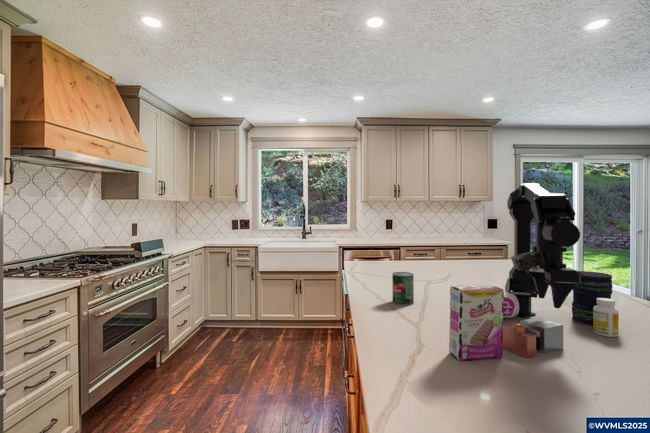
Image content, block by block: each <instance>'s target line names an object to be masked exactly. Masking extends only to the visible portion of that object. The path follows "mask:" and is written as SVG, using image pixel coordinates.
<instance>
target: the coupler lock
mask: <svg viewBox="0 0 650 433" xmlns="http://www.w3.org/2000/svg"><path fill="white" fill-rule="evenodd" d="M519 324H521V325H523V326H524V328H525V330H526V332H529V333H532V334H535V335H536V337H540V349H539V352H541V353H543V354H545V353H546V354H547V353H551V352H552V353H553V352H554V351H560V350H562V349H564V324H563V323H559V322H555V321H551V320H549V319H545V318H541V317H533V318H528V319H521V320H520V321H519Z"/></svg>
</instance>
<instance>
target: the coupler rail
mask: <svg viewBox="0 0 650 433" xmlns="http://www.w3.org/2000/svg"><path fill="white" fill-rule="evenodd" d="M502 349H505V350H508V351H510V352H512V353H515V354H516V355H519V356H521V357H523V358H526V359H529V358H533V357H536V356H537V350H540V337H536V335H535V334H532V333H529V332H526V330H525V328H524V326H523V325H521V324H520V322H519V323H518V322H517V323H513V324H512V325H507V326H503V339H502Z"/></svg>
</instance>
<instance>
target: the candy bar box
mask: <svg viewBox="0 0 650 433" xmlns="http://www.w3.org/2000/svg"><path fill="white" fill-rule="evenodd" d="M449 289H450V290H449V291H450V294H449V298H450V299H449V339H448V340H449V348H448V353H449V354H450V355H452V356H453V357H454V358H456V360H458V361H459V362H460V361H461V362H462V361H463V362H464V361H472V360H473V361H475V360H486V359H502V358H503V348H502V339H503V327H504V318H503V296H504V292H505V288H504V289H503V288H501V287H498V286H495V285H493V284H492V285H491V284H480V285H479V284H476V285H475V284H473V285H450V288H449Z"/></svg>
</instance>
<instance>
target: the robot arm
mask: <svg viewBox="0 0 650 433" xmlns="http://www.w3.org/2000/svg"><path fill="white" fill-rule="evenodd" d="M507 210H508V214H509V215H510V217H511V218H512V220H513V221H514V256H511V257H510V259H511V262H512V264H513V266H512V268H511V269H510V270H509V271H508V277H507V278H506V283H505V286H504V292H509V293H511V294H514V295H515V296H516V297H517V299H518V302H519V313H518V315H517V316H518V317H521V318H526V317H531V316H536V315H537V313H536V312H532V298H535V299H537V297H538V298H539V299H544V298H545V297H546V295H547V291H548V288H549V287H550V289H551V297H552V302H553V307H554V309H560V308H561V307H562V305H563V304H564V302H565V301H566V299H567V297H568V296H569V295H570V293H571V292H573V290H572V289H573V288H574V286H575V285H577V284H578V283H581V274H580V273H579V272H578V271H579V270H578V271H577V270H576V269H573V268H570V267H567V263H564V253H566V252H567V250H568V249H567V248H568V247H572V246H574V245H575V244H577V243H578V241H580V237H581V232H580V230H579V228H578V226H577V225H576V224H574V223H572V222H571V221H575V216H576V212H575V210H574V208H573V206H572V204H571V202H570V199H569V198H568V197H567V195H566V194H565V193H561V192H549V191H548V190H546V189H545V188H543V187H542V186H540V183H536V182H532V183H530V182H529V183H527V182H526V183H521V184H519V186H518V188H516V189H515V190H513V191H512V192H510V193H509V195H508V199H507ZM533 219H535V221H536V233H535V234H536V238H535V240H536V241H535V245H533V244H531V241H532V240H531V238H532V237H531V232H532V231H531V227H532V226H531V225H532V223H531V222H532V221H533ZM532 245H533V246H532ZM531 246H532V248H531Z"/></svg>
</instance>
